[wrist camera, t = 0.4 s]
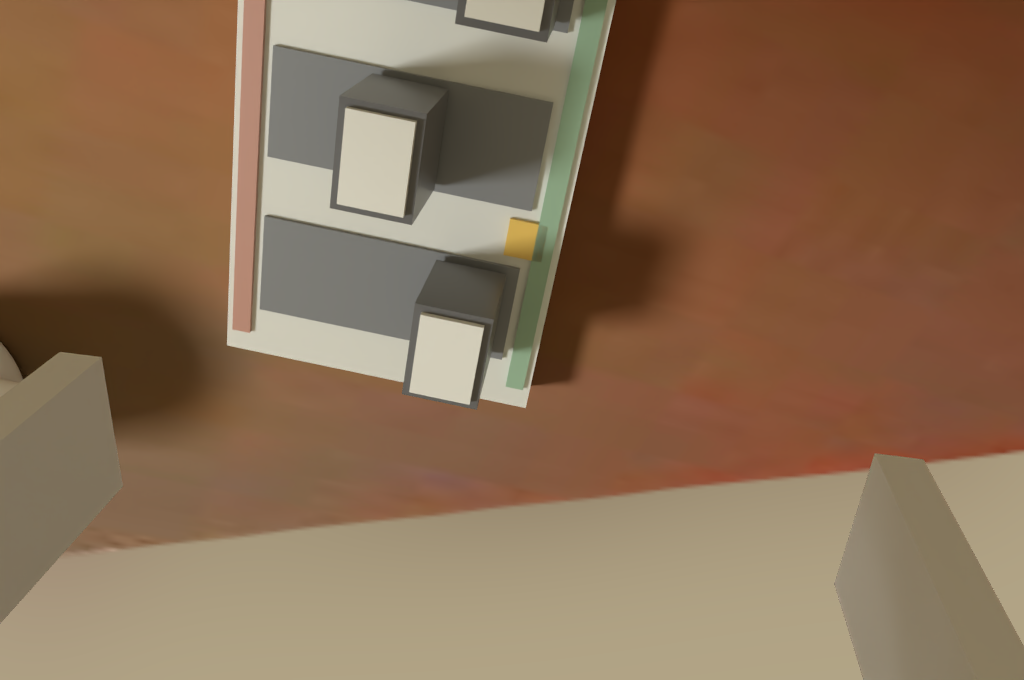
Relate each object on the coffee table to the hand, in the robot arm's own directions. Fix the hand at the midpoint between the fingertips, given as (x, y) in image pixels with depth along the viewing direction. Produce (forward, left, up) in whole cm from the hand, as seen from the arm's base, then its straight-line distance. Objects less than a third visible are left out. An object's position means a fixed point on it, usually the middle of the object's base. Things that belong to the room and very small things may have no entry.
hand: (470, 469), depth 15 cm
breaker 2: (-2, -7, -21) cm, 22 cm away
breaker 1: (-6, 0, -21) cm, 22 cm away
